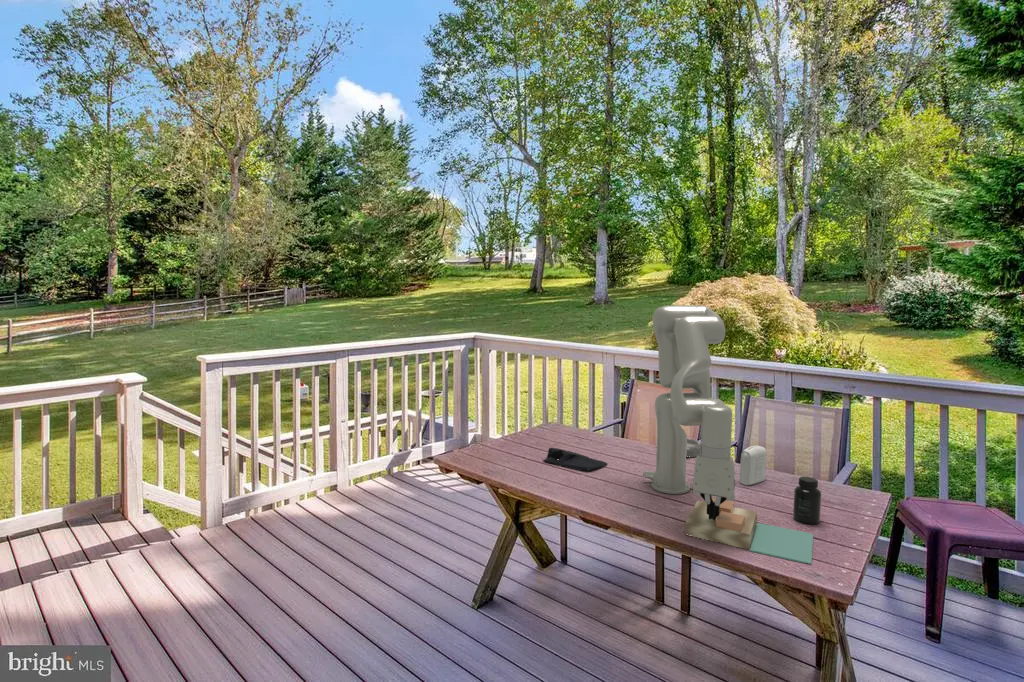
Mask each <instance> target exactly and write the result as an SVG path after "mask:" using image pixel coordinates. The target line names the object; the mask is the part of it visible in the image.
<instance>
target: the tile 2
mask: <svg viewBox="0 0 1024 682" xmlns="http://www.w3.org/2000/svg"><path fill="white" fill-rule="evenodd" d="M744 524H745V516H743V515H738V514H733V513H728V512H723V511H721V513H720V514H719V516H718V517H717V519H716V526H717V527H721V528H725V529H730V530H734V531H739V532H741V530H742V528H743V526H744Z"/></svg>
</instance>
